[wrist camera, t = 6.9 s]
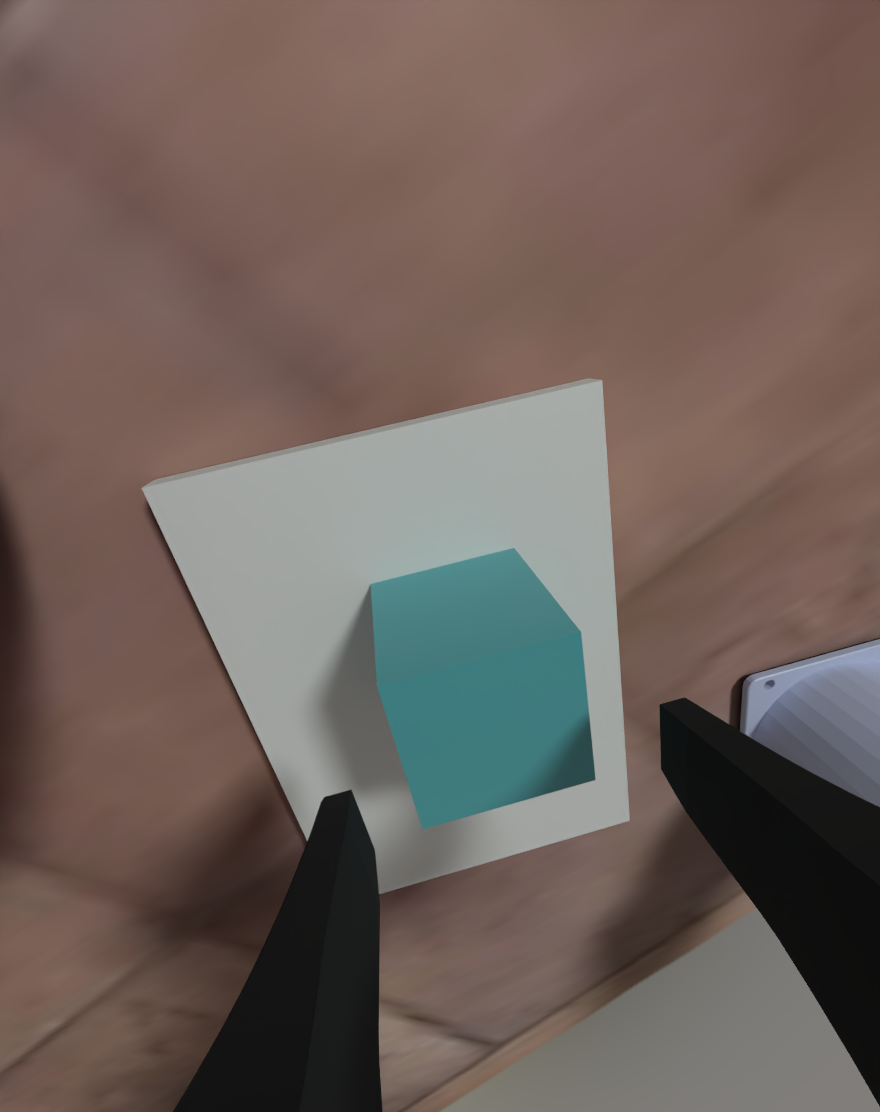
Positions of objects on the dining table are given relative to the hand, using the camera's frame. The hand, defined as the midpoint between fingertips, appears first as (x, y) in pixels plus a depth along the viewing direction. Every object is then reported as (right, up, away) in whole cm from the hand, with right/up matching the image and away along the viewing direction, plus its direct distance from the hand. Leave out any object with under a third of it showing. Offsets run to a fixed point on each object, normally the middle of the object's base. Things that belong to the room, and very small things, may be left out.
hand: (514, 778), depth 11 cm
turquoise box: (-1, +2, +6) cm, 7 cm away
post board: (-2, 0, +8) cm, 9 cm away
